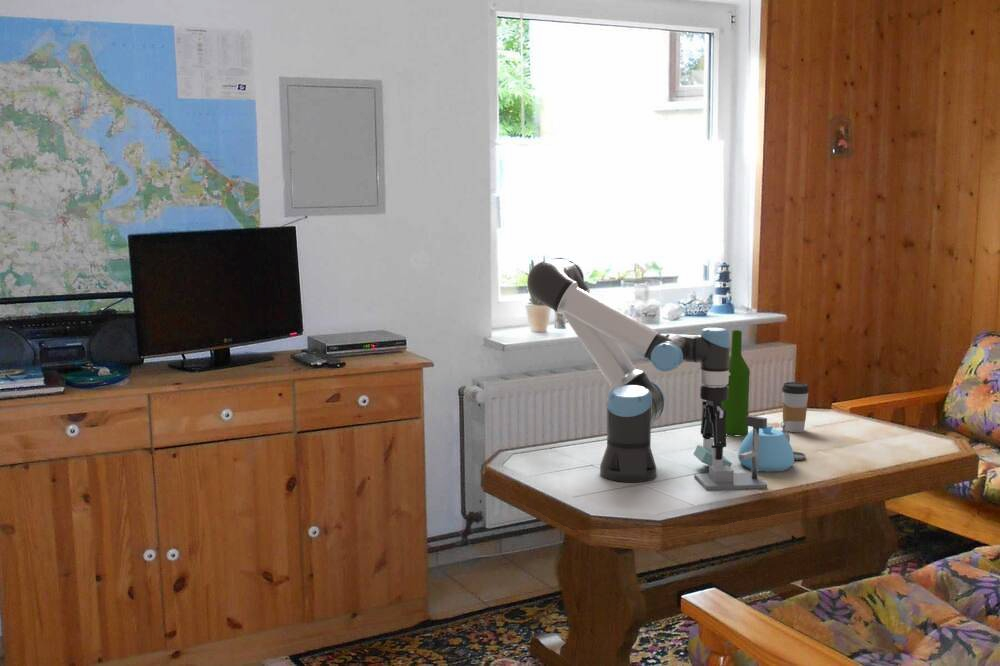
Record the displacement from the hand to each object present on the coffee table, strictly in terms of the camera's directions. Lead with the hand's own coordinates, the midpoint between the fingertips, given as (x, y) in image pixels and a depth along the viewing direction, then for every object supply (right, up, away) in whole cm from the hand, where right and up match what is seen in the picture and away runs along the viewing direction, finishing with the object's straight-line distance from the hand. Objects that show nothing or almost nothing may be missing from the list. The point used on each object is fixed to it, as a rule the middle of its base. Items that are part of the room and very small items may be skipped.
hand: (712, 465), depth 270 cm
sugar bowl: (+16, -1, +4) cm, 16 cm away
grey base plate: (+2, -3, -12) cm, 13 cm away
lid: (-1, +1, 0) cm, 1 cm away
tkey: (+6, -2, -14) cm, 15 cm away
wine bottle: (+15, +5, +40) cm, 43 cm away
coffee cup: (+35, +5, +43) cm, 56 cm away
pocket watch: (+25, +1, +12) cm, 28 cm away
